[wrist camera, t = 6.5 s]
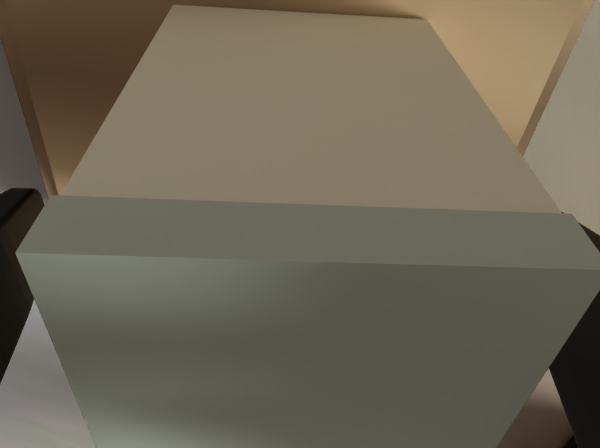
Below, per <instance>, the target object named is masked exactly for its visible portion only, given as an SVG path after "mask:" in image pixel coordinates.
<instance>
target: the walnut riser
mask: <svg viewBox="0 0 600 448" xmlns="http://www.w3.org/2000/svg"><path fill="white" fill-rule="evenodd" d="M594 1H595V0H0V36H1V40H2V43H3V46H4V50H5V53H6V57H7V60H8V63H9V67H10V70H11V73H12V77H13V80H14V83H15V87H16V90H17V94H18V97H19V100H20V104H21V107H22V110H23V114H24V117H25V121H26V124H27V127H28V131H29V134H30V137H31V141H32V144H33V148H34V151H35V154H36V158H37V161H38V164H39V168H40V171H41V175H42V178H43V181H44V185H45V188H46V191H47V195H48V198H49V197H50V196H51V195H61V193H62V191H63V190H64V188H65V186H66V185H67V183H68V181H69V180H70V178H71V176H72V175H73V173H74V171H75V169H76V168H77V166H78V164H79V163H80V161H81V159H82V158H83V156H84V154H85V153H86V151H87V149H88V148H89V146H90V144H91V142H92V141H93V139H94V137H95V136H96V134H97V132H98V131H99V129H100V127H101V126H102V124H103V122H104V121H105V119H106V117H107V116H108V114H109V112H110V110H111V109H112V107H113V105H114V104H115V102H116V100H117V99H118V97H119V95H120V94H121V92H122V90H123V89H124V87H125V85H126V83H127V82H128V80H129V78H130V77H131V75H132V73H133V72H134V70H135V68H136V67H137V65H138V63H139V62H140V60H141V58H142V57H143V55H144V53H145V51H146V50H147V48H148V46H149V45H150V43H151V41H152V40H153V38H154V36H155V35H156V33H157V31H158V30H159V28H160V26H161V24H162V23H163V21H164V19H165V18H166V16H167V14H168V13H169V11H170V9H171V8H172V6H173V5H188V6H205V7H222V8H239V9H257V10H274V11H291V12H308V13H325V14H342V15H359V16H376V17H393V18H410V19H427V20H428V22H429V23H430V25H431V26H432V27H433V29H434V30H435V32H436V33H437V35H438V36H439V38H440V39H441V40H442V42H443V43H444V45H445V46H446V48H447V49H448V50H449V52H450V53H451V55H452V56H453V58H454V59H455V60H456V62H457V63H458V65H459V66H460V68H461V69H462V70H463V72H464V73H465V75H466V76H467V78H468V79H469V81H470V82H471V83H472V85H473V86H474V88H475V89H476V91H477V92H478V93H479V95H480V96H481V98H482V99H483V101H484V102H485V103H486V105H487V106H488V108H489V109H490V111H491V112H492V114H493V115H494V116H495V118H496V119H497V121H498V122H499V124H500V125H501V126H502V128H503V129H504V131H505V132H506V134H507V135H508V136H509V138H510V139H511V141H512V142H513V144H514V145H515V146H516V148H517V149H518V151H519V152H520V154H521V155H522V157H523V155H524V152H525V150H526V148H527V146H528V144H529V142H530V140H531V137H532V135H533V133H534V131H535V129H536V127H537V124H538V122H539V120H540V118H541V116H542V114H543V111H544V109H545V107H546V105H547V103H548V101H549V98H550V96H551V94H552V92H553V90H554V88H555V86H556V83H557V81H558V79H559V77H560V75H561V73H562V70H563V68H564V66H565V64H566V62H567V60H568V57H569V55H570V53H571V51H572V49H573V47H574V44H575V42H576V40H577V38H578V36H579V34H580V31H581V29H582V27H583V25H584V23H585V21H586V19H587V16H588V14H589V12H590V10H591V8H592V6H593V3H594Z"/></svg>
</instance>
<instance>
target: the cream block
mask: <svg viewBox="0 0 600 448" xmlns="http://www.w3.org/2000/svg"><path fill="white" fill-rule="evenodd" d="M15 254H16V256H17V258H18V261H19V263H20V266H21V268H22V270H23V273H24V275H25V278H26V280H27V282H28V285H29V287H30V290H31V292H32V294H33V297H34V299H35V302H36V304H37V306H38V309H39V311H40V314H41V316H42V318H43V321H44V323H45V326H46V328H47V330H48V333H49V335H50V338H51V340H52V342H53V345H54V347H55V350H56V352H57V354H58V357H59V359H60V362H61V364H62V367H63V369H64V371H65V374H66V376H67V379H68V381H69V383H70V386H71V388H72V391H73V393H74V395H75V398H76V400H77V403H78V405H79V407H80V410H81V412H82V415H83V417H84V419H85V422H86V424H87V427H88V429H89V431H90V434H91V436H92V439H93V441H94V443H95V446H96V448H496V447H497V446H498V444H499V443H500V441H501V440H502V438H503V436H504V435H505V433H506V432H507V430H508V429H509V427H510V426H511V424H512V423H513V421H514V420H515V418H516V417H517V415H518V414H519V412H520V411H521V409H522V408H523V406H524V404H525V403H526V401H527V400H528V398H529V397H530V395H531V394H532V392H533V391H534V389H535V388H536V386H537V385H538V383H539V382H540V380H541V379H542V377H543V376H544V374H545V372H546V371H547V369H548V368H549V366H550V365H551V363H552V362H553V360H554V359H555V357H556V356H557V354H558V353H559V351H560V350H561V348H562V347H563V345H564V344H565V342H566V340H567V339H568V337H569V336H570V334H571V333H572V331H573V330H574V328H575V327H576V325H577V324H578V322H579V321H580V319H581V318H582V316H583V315H584V313H585V312H586V310H587V309H588V307H589V305H590V304H591V302H592V301H593V299H594V298H595V296H596V295H597V293H598V292H599V290H600V252H599V251H598V249H597V248H596V247H595V245H594V244H593V242H592V241H591V240H590V238H589V237H588V236H587V234H586V233H585V231H584V230H583V229H582V227H581V226H580V224H579V223H578V222H577V220H576V219H575V217H574V216H573V215H572V214H563V213H562V212H561V211H560V210H559V208H558V207H557V205H556V204H555V202H554V201H553V200H552V198H551V197H550V195H549V194H548V192H547V191H546V190H545V188H544V187H543V185H542V184H541V182H540V181H539V179H538V178H537V177H536V175H535V174H534V172H533V171H532V169H531V168H530V167H529V165H528V164H527V162H526V161H525V159H524V158H523V157H522V155H521V154H520V152H519V151H518V149H517V148H516V146H515V145H514V144H513V142H512V141H511V139H510V138H509V136H508V135H507V134H506V132H505V131H504V129H503V128H502V126H501V125H500V124H499V122H498V121H497V119H496V118H495V116H494V115H493V114H492V112H491V111H490V109H489V108H488V106H487V105H486V103H485V102H484V101H483V99H482V98H481V96H480V95H479V93H478V92H477V91H476V89H475V88H474V86H473V85H472V83H471V82H470V81H469V79H468V78H467V76H466V75H465V73H464V72H463V70H462V69H461V68H460V66H459V65H458V63H457V62H456V60H455V59H454V58H453V56H452V55H451V53H450V52H449V50H448V49H447V48H446V46H445V45H444V43H443V42H442V40H441V39H440V38H439V36H438V35H437V33H436V32H435V30H434V29H433V27H432V26H431V25H430V23H429V22H428V20H427V19H410V18H393V17H376V16H359V15H342V14H325V13H308V12H291V11H274V10H257V9H239V8H222V7H205V6H188V5H173V6H172V8H171V9H170V11H169V13H168V14H167V16H166V18H165V19H164V21H163V23H162V24H161V26H160V28H159V30H158V31H157V33H156V35H155V36H154V38H153V40H152V41H151V43H150V45H149V46H148V48H147V50H146V51H145V53H144V55H143V57H142V58H141V60H140V62H139V63H138V65H137V67H136V68H135V70H134V72H133V73H132V75H131V77H130V78H129V80H128V82H127V83H126V85H125V87H124V89H123V90H122V92H121V94H120V95H119V97H118V99H117V100H116V102H115V104H114V105H113V107H112V109H111V110H110V112H109V114H108V116H107V117H106V119H105V121H104V122H103V124H102V126H101V127H100V129H99V131H98V132H97V134H96V136H95V137H94V139H93V141H92V142H91V144H90V146H89V148H88V149H87V151H86V153H85V154H84V156H83V158H82V159H81V161H80V163H79V164H78V166H77V168H76V169H75V171H74V173H73V175H72V176H71V178H70V180H69V181H68V183H67V185H66V186H65V188H64V190H63V191H62V193H61V195H51V196H50V197H49V199H48V201H47V202H46V204H45V205H44V207H43V209H42V210H41V212H40V214H39V215H38V217H37V218H36V220H35V222H34V223H33V225H32V227H31V228H30V230H29V231H28V233H27V235H26V236H25V238H24V239H23V241H22V243H21V244H20V246H19V248H18V249H17V251H16V252H15Z"/></svg>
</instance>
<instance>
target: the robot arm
mask: <svg viewBox="0 0 600 448" xmlns="http://www.w3.org/2000/svg"><path fill="white" fill-rule="evenodd" d="M43 207H44V202H43V199H42V196H41V194H40V193H39V191H38V190H36V189H33V188H11V189H9V190H7V191H5V192H3V193H2V194H0V383H1V381H2V379H3V376H4V374H5V371H6V369H7V366H8V364H9V362H10V359H11V357H12V354H13V352H14V350H15V347H16V345H17V342H18V340H19V337H20V335H21V333H22V330H23V328H24V325H25V323H26V320H27V318H28V315H29V313H30V310H31V307H32V304H33V300H34V297H33V294H32V292H31V290H30V287H29V285H28V282H27V280H26V278H25V275H24V273H23V270H22V268H21V266H20V263H19V261H18V258H17V256H16V254H15V252H16V251H17V249H18V248H19V246H20V244H21V243H22V241H23V239H24V238H25V236H26V235H27V233H28V231H29V230H30V228H31V227H32V225H33V223H34V222H35V220H36V218H37V217H38V215H39V214H40V212H41V210H42V209H43ZM562 213H563V212H562ZM563 214H564V213H563ZM578 223H579V222H578ZM579 224H580V223H579ZM580 226H581V227H582V229H583V230H584V231H585V233H586V234H587V236H588V237H589V238H590V240H591V241H592V242H593V244H594V245H595V247H596V248H597V249H598V251H599V252H600V236H599V235H598V234H596V233H595V232H593V231H591V230H590V229H588V228H587V227H585V226H583V225H582V224H580ZM549 370H550V372H551V375H552V378H553V380H554V383H555V386H556V388H557V391H558V394H559V396H560V399H561V402H562V404H563V407H564V410H565V413H566V415H567V418H568V421H569V423H570V426H571V429H572V431H573V434H574V438H573V439H572V440H571V441H570V443H569V444H568V445H567V446H566V447H565V448H600V290H599V292H598V293H597V295H596V296H595V298H594V299H593V301H592V302H591V304H590V305H589V307H588V309H587V310H586V312H585V313H584V315H583V316H582V318H581V319H580V321H579V322H578V324H577V325H576V327H575V328H574V330H573V331H572V333H571V334H570V336H569V337H568V339H567V340H566V342H565V344H564V345H563V347H562V348H561V350H560V351H559V353H558V354H557V356H556V357H555V359H554V360H553V362H552V363H551V365H550V366H549Z"/></svg>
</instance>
